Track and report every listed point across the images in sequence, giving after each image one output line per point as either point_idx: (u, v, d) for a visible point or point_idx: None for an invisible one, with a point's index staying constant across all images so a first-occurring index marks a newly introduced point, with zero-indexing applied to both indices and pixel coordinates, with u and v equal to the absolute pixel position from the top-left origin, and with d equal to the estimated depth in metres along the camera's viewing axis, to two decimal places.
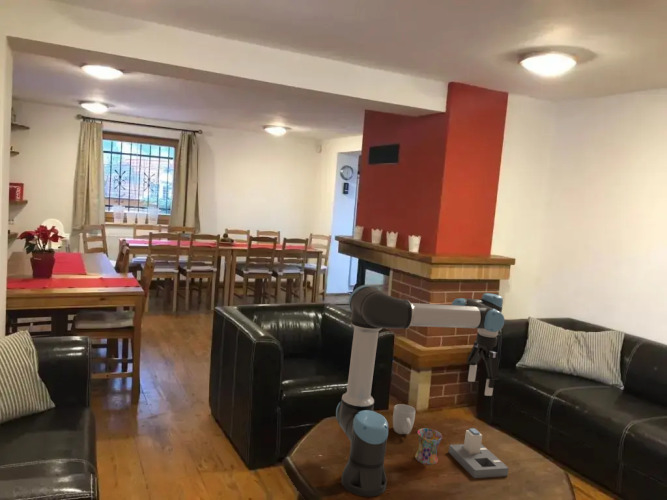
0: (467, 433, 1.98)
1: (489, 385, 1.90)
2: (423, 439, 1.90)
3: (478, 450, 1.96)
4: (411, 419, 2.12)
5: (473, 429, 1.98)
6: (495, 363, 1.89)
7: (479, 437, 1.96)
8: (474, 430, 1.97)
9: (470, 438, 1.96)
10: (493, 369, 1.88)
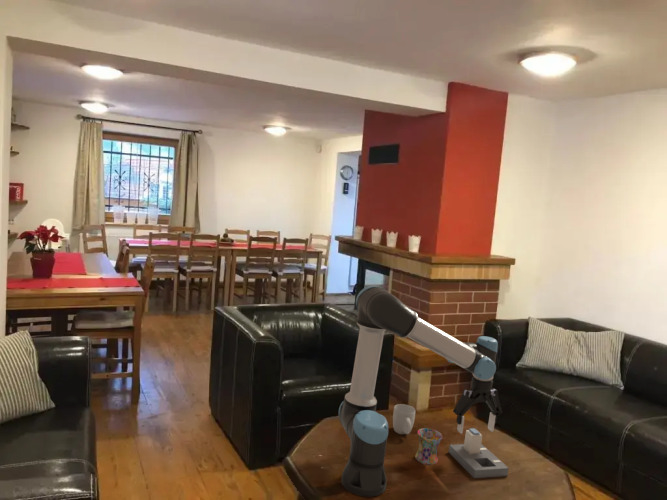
0: (467, 433, 1.98)
1: None
2: (423, 439, 1.90)
3: (478, 450, 1.96)
4: (411, 419, 2.12)
5: (473, 429, 1.98)
6: (462, 400, 1.93)
7: (479, 437, 1.96)
8: (474, 430, 1.97)
9: (470, 438, 1.96)
10: (457, 404, 1.94)
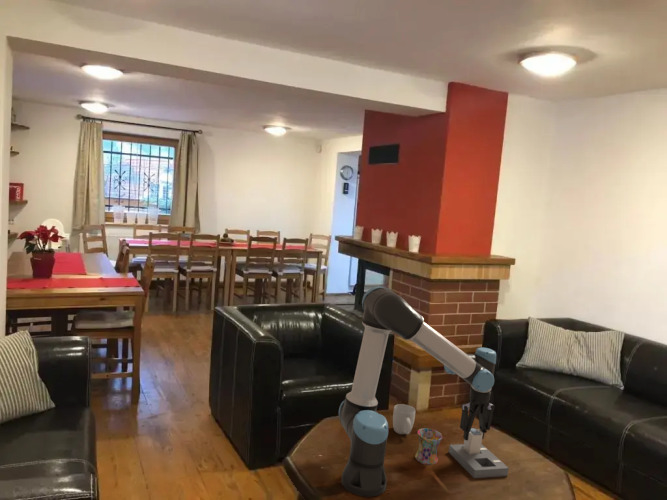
0: None
1: None
2: (423, 439, 1.90)
3: (478, 450, 1.96)
4: (411, 419, 2.12)
5: (473, 429, 1.98)
6: (463, 416, 1.94)
7: (479, 437, 1.96)
8: (474, 430, 1.97)
9: None
10: (461, 420, 1.95)
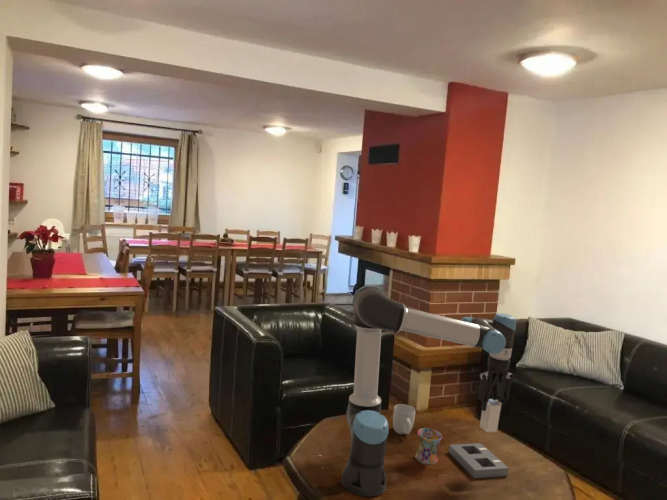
0: None
1: None
2: (423, 439, 1.90)
3: (496, 421, 1.87)
4: (411, 419, 2.12)
5: (491, 399, 1.89)
6: (481, 385, 1.85)
7: (497, 408, 1.86)
8: (492, 400, 1.88)
9: None
10: (479, 390, 1.86)
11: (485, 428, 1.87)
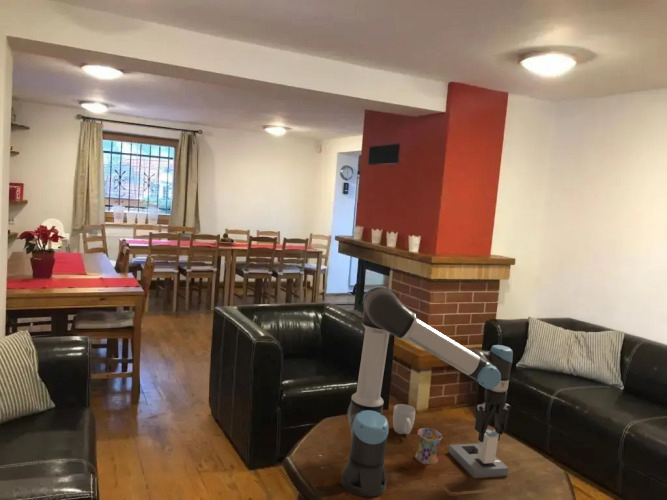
0: None
1: None
2: (423, 439, 1.90)
3: (494, 452, 1.87)
4: (411, 419, 2.12)
5: (488, 430, 1.89)
6: (478, 416, 1.85)
7: (495, 439, 1.87)
8: (489, 431, 1.88)
9: None
10: (476, 421, 1.87)
11: (483, 459, 1.87)
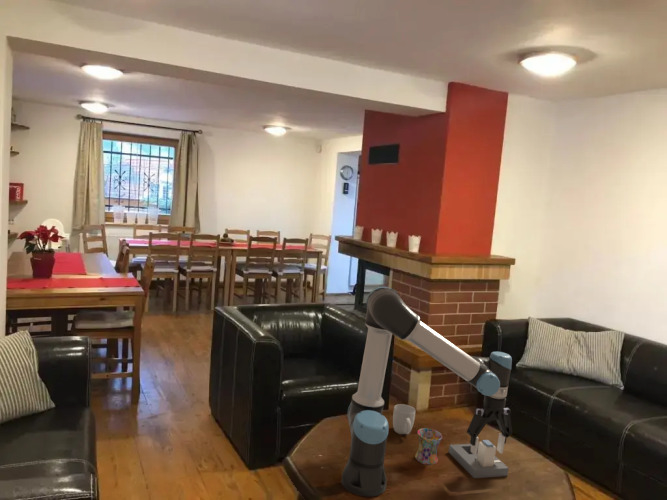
0: (480, 445, 1.89)
1: None
2: (423, 439, 1.90)
3: (492, 463, 1.88)
4: (411, 419, 2.12)
5: (486, 441, 1.90)
6: (474, 420, 1.85)
7: (493, 449, 1.87)
8: (487, 442, 1.89)
9: (483, 450, 1.87)
10: (470, 424, 1.86)
11: None
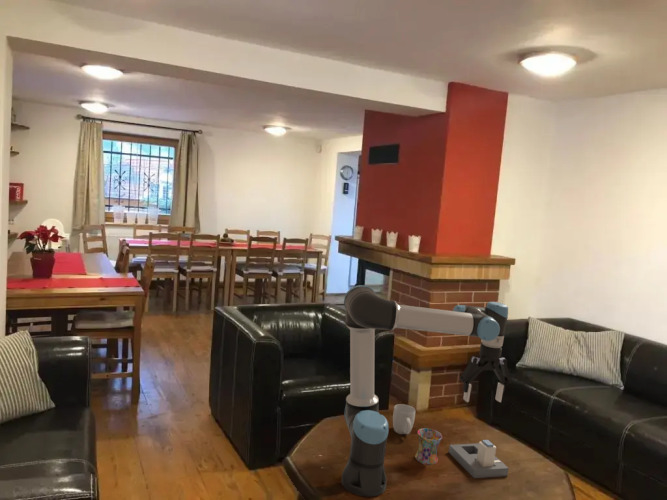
0: (480, 445, 1.89)
1: None
2: (423, 439, 1.90)
3: (492, 463, 1.88)
4: (411, 419, 2.12)
5: (486, 441, 1.90)
6: (469, 367, 1.85)
7: (493, 449, 1.87)
8: (487, 442, 1.89)
9: (483, 450, 1.87)
10: (464, 371, 1.86)
11: None
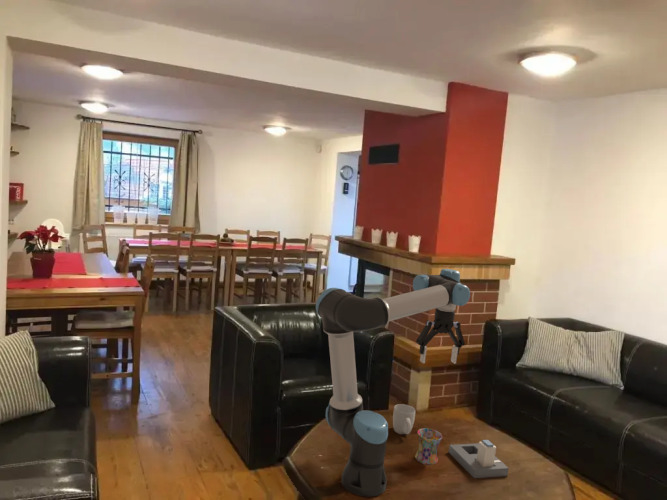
0: (480, 445, 1.89)
1: None
2: (423, 439, 1.90)
3: (492, 463, 1.88)
4: (411, 419, 2.12)
5: (486, 441, 1.90)
6: (424, 330, 1.97)
7: (493, 449, 1.87)
8: (487, 442, 1.89)
9: (483, 450, 1.87)
10: (420, 334, 1.98)
11: None
